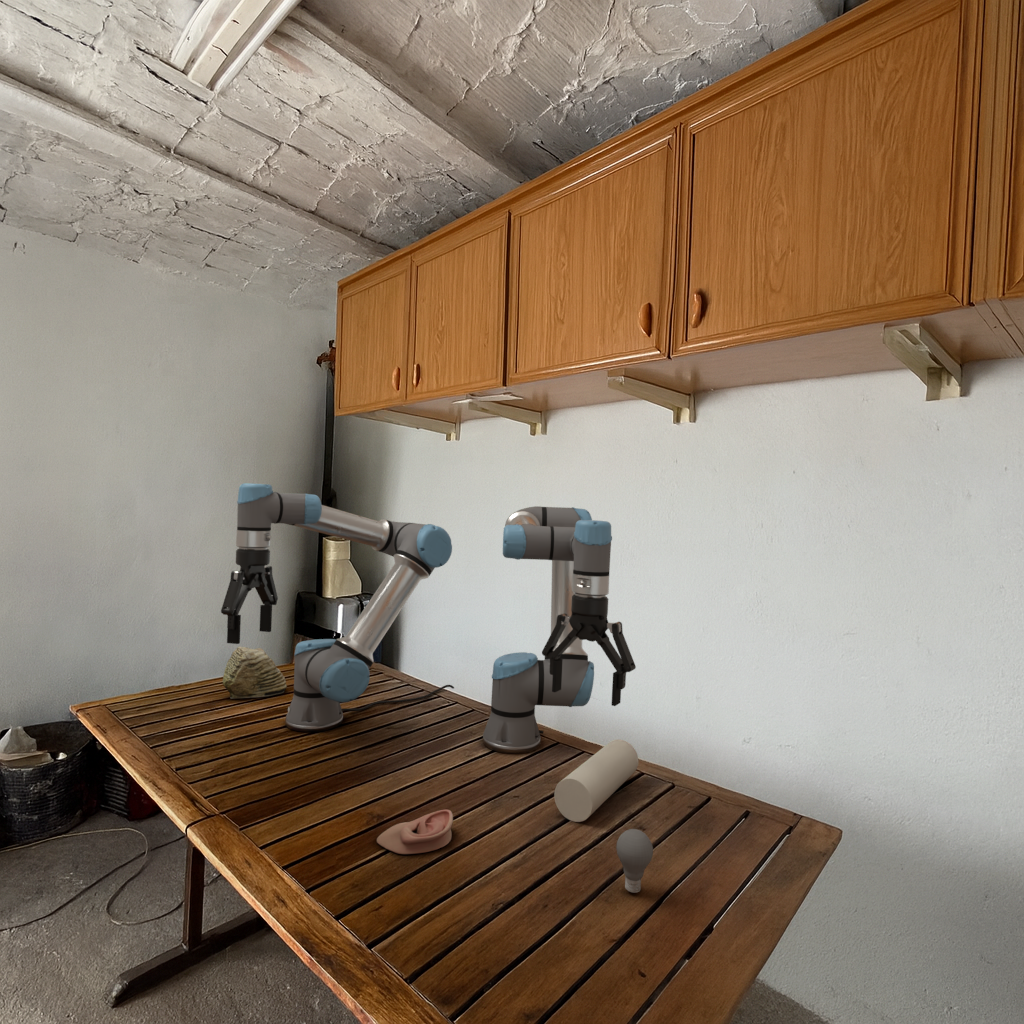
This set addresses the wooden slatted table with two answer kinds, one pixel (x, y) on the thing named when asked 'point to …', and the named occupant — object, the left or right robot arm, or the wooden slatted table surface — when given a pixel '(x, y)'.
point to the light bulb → (634, 857)
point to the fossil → (252, 674)
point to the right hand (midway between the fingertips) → (585, 697)
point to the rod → (595, 780)
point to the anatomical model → (419, 834)
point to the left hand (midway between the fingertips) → (250, 637)
